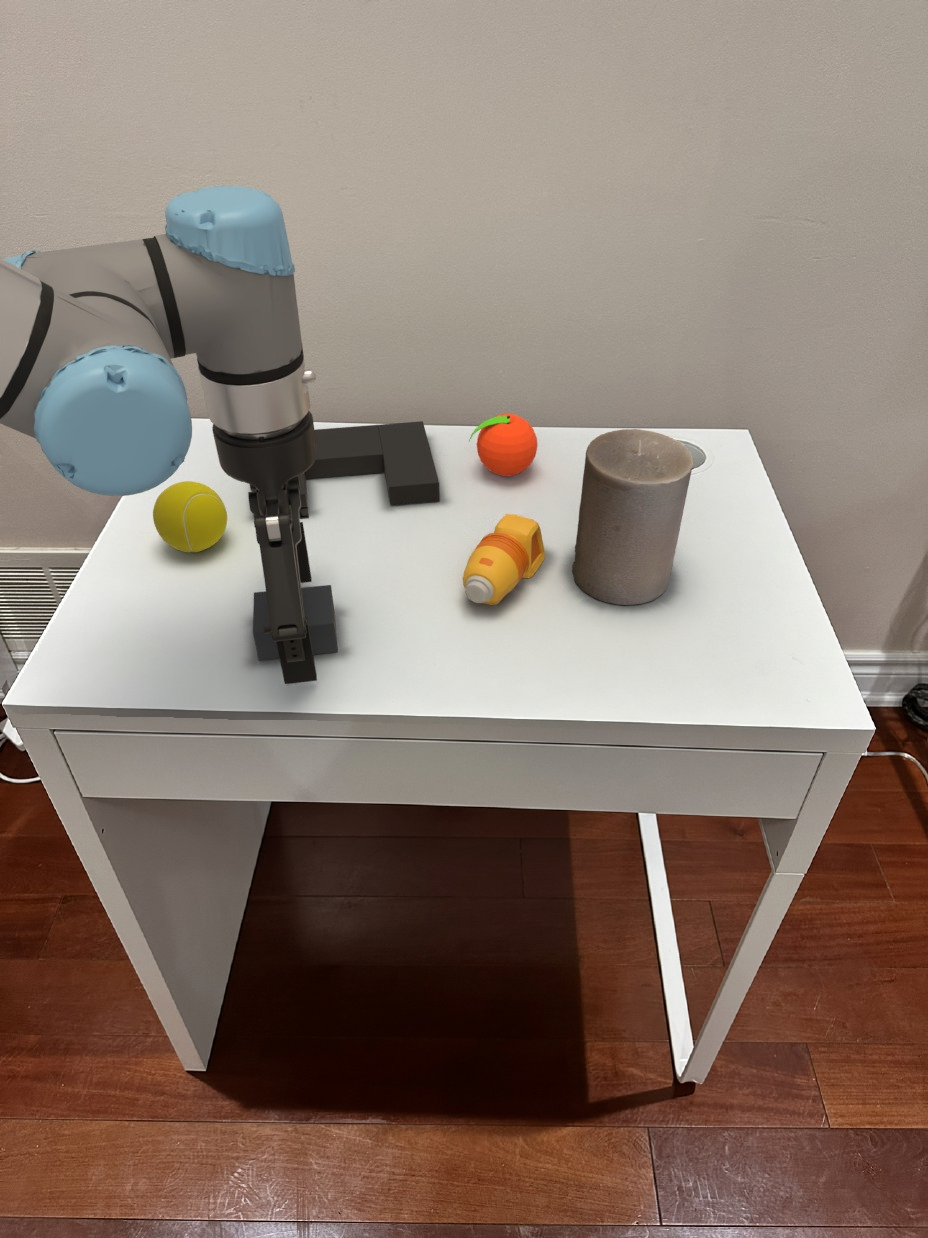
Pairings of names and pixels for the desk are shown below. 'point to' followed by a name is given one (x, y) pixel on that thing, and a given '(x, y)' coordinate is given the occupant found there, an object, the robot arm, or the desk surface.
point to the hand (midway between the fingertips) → (299, 627)
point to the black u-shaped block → (378, 459)
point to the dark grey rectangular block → (315, 610)
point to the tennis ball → (190, 516)
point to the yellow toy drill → (503, 559)
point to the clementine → (506, 444)
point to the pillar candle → (630, 515)
